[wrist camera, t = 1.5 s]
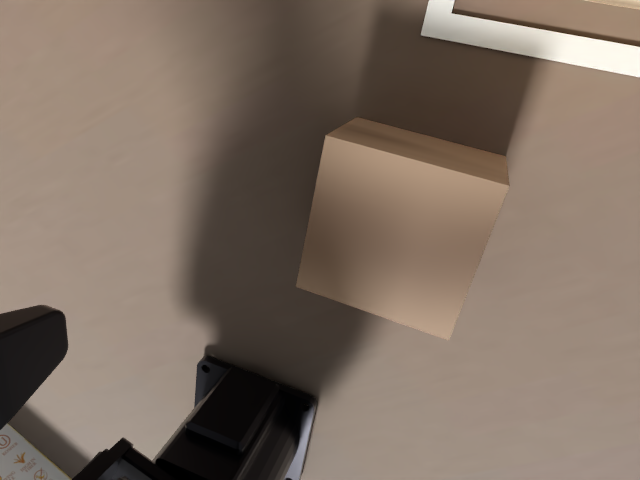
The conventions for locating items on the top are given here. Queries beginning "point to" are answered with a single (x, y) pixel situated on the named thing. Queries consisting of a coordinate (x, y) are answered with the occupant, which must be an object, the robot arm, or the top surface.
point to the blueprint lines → (529, 40)
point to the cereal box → (24, 459)
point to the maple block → (620, 3)
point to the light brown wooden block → (400, 223)
